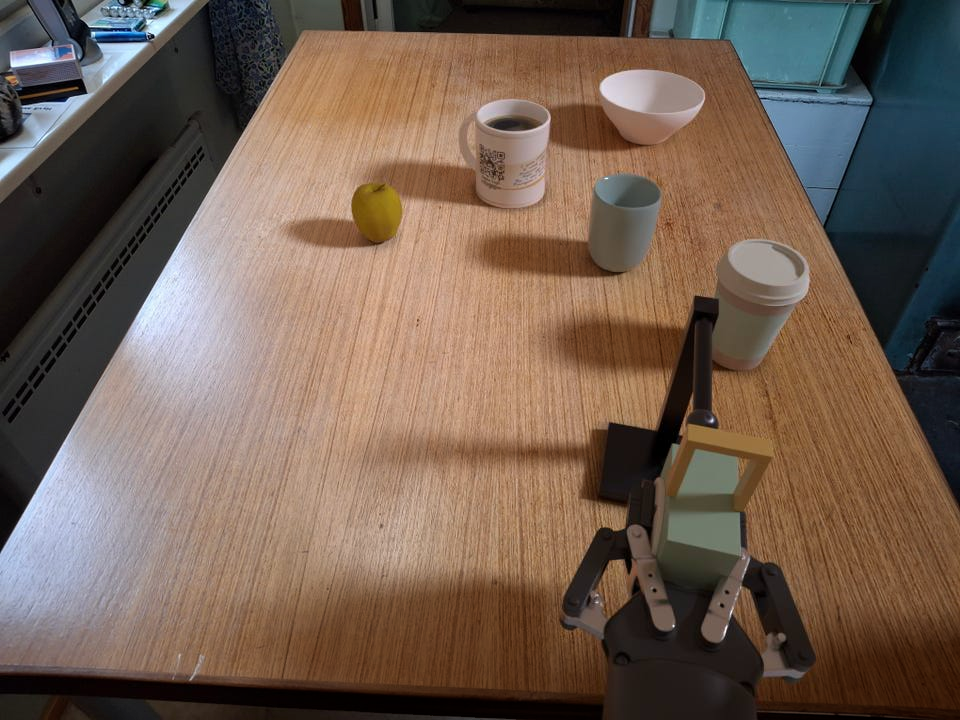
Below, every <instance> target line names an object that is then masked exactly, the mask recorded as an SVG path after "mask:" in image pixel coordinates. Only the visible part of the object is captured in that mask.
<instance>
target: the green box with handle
mask: <svg viewBox="0 0 960 720" xmlns="http://www.w3.org/2000/svg"><path fill="white" fill-rule="evenodd" d="M684 430H685V431H684V433H683V438H682V441H681V443H680V445H678V444H672V445H671V448H670V451H669V454H668V456H667V459H666V462H665V465H664V467H663V470H662V473H661V476H660V478H659V477H658V478H657V479H656V480H655V482H654V498H653V512H652V526H651V530H650V533H649V536H648V539H649V543H650V546H651V550H652V554H653V557H654V558H656V559H657V562H658V565H659V569H660V572H661V576H662V579H663V580H664V581H669V582H673V583H675V584H677V585H679V586H681V587H683V588H686V589H692V588H701V589H705V590H710V591H713V589H714V587H715V585H716V583H717V581H718V579H719V577H720V576H721V575H724V576H727V577H729V576H730V574H731V572H732V571H733V569H734V567H735V566H736V564H737V562H738V560H739V559H740V557H741V541H740V511H741V512H745V510H746V508H747V506H748V504H749V502H750V501H751V499H752V497H753V495H754V493H755V491H756V489H757V488H758V486H759V484H760V482H761V480H762V479H763V477H764V474H765V473H766V471H767V469H768V468H769V466H770V464H771V463H772V460H773V459H774V449H773V440H772V439H769V438H764V437H758V436H755V435H748V434H744V433H738V432H734V431H729V430H728V431H727V430H723V429H719V428H718V429H713V428H708V427H703V426H698V425H693V424H687V427H686V426H685V429H684ZM739 459H744V460H749V461H748V462H747V465H745V468H744V470H743V472H742V475H741V476H740V477H739Z"/></svg>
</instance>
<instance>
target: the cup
mask: <svg viewBox="0 0 960 720" xmlns="http://www.w3.org/2000/svg"><path fill="white" fill-rule="evenodd" d="M662 199H663V197H662V191H661V188H660V187H659V185H657V183H656V182H655V181H653V180H651V178H648V177H646V176H643V175H640V174H635V173H612V174H608V175H605V176H602V177H600V178H598V179H597V181H596V182H595V183H594V185H593V187H592V194H591V200H590V208H589V217H588V224H587V246H588V252H589V255H590V257H591V259H592V261H593V262H594V263H595V264H596V265H597V266H598V267H599V268H601V269H603V270H605V271H608V272H613V273H624V272H629V271H632V270H635V269H637V267H639V266H640V265H641V264H642V263H643V262H644V260H645V259H646V257H647V255H648V254H649V251H650V249H651V245H652V242H653V240H654V236H655V232H656V229H657V225H658V220H659V215H660V212H661V205H662Z"/></svg>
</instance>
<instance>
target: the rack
mask: <svg viewBox="0 0 960 720" xmlns="http://www.w3.org/2000/svg"><path fill="white" fill-rule="evenodd" d="M718 316H719V299H717V298H714V297H710V296H709V297H708V296H703V295H696V294H695V295H694V296H693V298H692V302H691V306H690V309H689V312H688V316H687V319H686V323H685V325H684V329H683V332H682V337H681V338H680V339H681V340H680V343H679V347H678V350H677V353H676V356H675V360H674V363H673V367H672V370H671V374H670V377H669V380H668V384H667V387H666V390H665V394H664V396H663V397H664V398H663V401H662V404H661V408H660V412H659V415H658V419H657V421H656V425H655V428H654V429H650V428H645V427H640V426H639V427H638V426H634V425H628V424H623V423H618V422H613V421H612V422H611V421H609V422H608V427H607V430H606V437H605V444H604V451H603V459H602V464H601V470H600V471H601V472H600V478H599V485H598V493H597V499H598V500H604V501H609V502H614V503H618V504H619V503H620V504H623V505H627V504H628V500H629V497H630V493H631V491H632V489H633V488H634V486H639V487H641V485H642V482H643V479H645V480H650V481H654V482H655V480H656V479H657V478H658V477H659V478H660V476H661V473H662V470H663V467H664V465H665V462H666V459H667V456H668V454H669V451H670V448H671V445H672V444H678V445H680V443H681V441H682V438H683V435H684V434H683V435H682V434H680V432H681V430H682V426H683V423H684V420H685V424H684V426H685V428H686V427H687V424H693V425H698V426H703V427H708V428H713V429H718V430H719V426H720V424H719V420H718V417H717V415H716V414H714V412H713V359H712V334H713V331H714V328H715V325H716V322H717V319H718ZM691 399H692V409H691V412H690V413H689V414H688V415H687V417H686V414H687V411H688V409H689V405H690V402H691ZM685 417H686V419H685Z"/></svg>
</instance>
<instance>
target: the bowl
mask: <svg viewBox="0 0 960 720" xmlns="http://www.w3.org/2000/svg"><path fill="white" fill-rule="evenodd" d="M598 98H599V103H600V105H601V107H602V109H603V112H604V113H605V115H606V116H607V118H608V119H609V120H610V122H611V123H612V124H613V125H614V127H615V128H616V130H617V131H618V132H619V133H618V134H619V135H620V136H621V137H622V138H623V139H624V140H626V141H628V142H630V143H632V144H637V145H642V146H643V145H644V146H653V145H658V144H661V143H663V142H665V141H667V140H668V139H669V138H670V137H671V136H672V135H673V134H675V133H676V132H678V131H679V130H680V129H682V128H684V127H685V126H686V125H688V124H689V123H691V122H692V121H693V120H694V119H695V118H696V117H697V115H698V114H699V112H700V111H701V109H702V107H703V105H704V103H705V100H706V92H705V91H704V89H703V88H702V87H701V85H699V84H698V83H696V82H695V81H693V80H692V79H689V78H687V77H685V76H684V75H680V74H677V73H673V72H669V71H664V70H657V69H655V70H654V69H632V70H624V71H623V70H622V71H620V72H616V73H615V72H614V73H613V74H610V75H609V76H606V77H604V78H603V80H601V82H600V83H599V86H598Z"/></svg>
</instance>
